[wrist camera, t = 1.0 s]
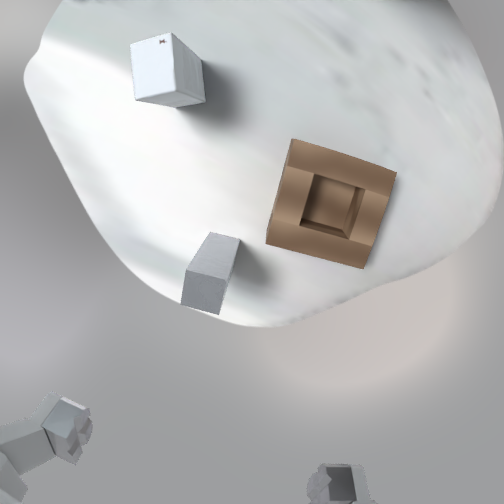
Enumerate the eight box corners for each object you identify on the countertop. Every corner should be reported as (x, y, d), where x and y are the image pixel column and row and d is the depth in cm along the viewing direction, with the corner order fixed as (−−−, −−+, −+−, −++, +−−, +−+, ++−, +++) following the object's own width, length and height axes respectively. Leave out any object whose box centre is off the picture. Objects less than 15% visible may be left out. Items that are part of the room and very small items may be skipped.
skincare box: (169, 65, 33) (128, 42, 22) (201, 58, 33) (172, 30, 21) (173, 109, 35) (133, 101, 24) (206, 103, 35) (178, 90, 24)
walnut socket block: (291, 138, 36) (294, 138, 31) (382, 167, 36) (396, 172, 31) (266, 230, 40) (265, 243, 35) (353, 254, 40) (363, 269, 36)
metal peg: (210, 231, 40) (186, 269, 29) (240, 239, 41) (226, 280, 29) (204, 259, 42) (180, 304, 31) (233, 266, 42) (218, 314, 31)
